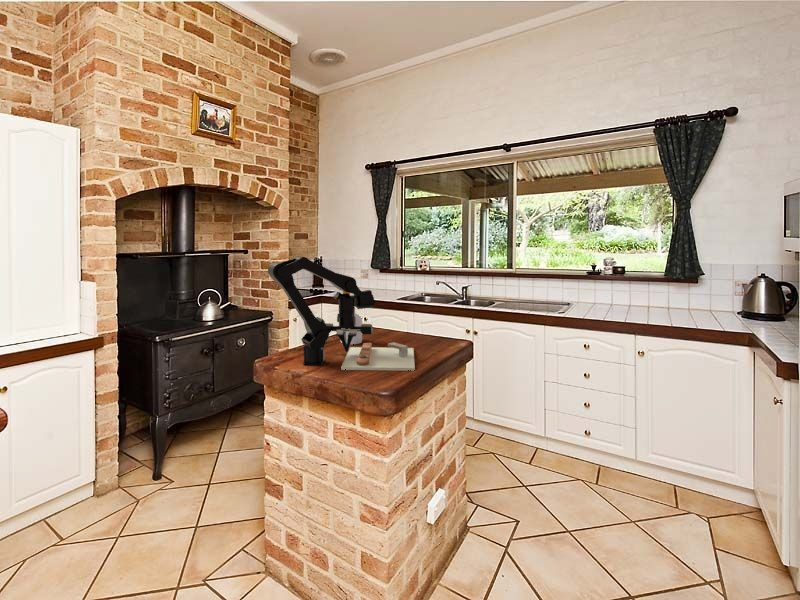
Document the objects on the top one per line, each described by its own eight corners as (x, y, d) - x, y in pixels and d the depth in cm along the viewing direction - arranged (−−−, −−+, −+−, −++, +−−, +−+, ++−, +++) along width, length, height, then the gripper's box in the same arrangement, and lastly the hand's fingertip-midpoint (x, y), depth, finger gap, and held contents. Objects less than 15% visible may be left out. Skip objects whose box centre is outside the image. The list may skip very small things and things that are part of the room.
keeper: (401, 360, 165) (401, 347, 164) (387, 355, 170) (387, 343, 170) (407, 358, 167) (407, 346, 166) (393, 354, 173) (393, 342, 172)
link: (368, 364, 155) (368, 357, 154) (355, 364, 155) (355, 357, 154) (373, 348, 176) (373, 341, 176) (361, 347, 176) (361, 341, 176)
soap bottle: (352, 346, 184) (351, 286, 181) (336, 342, 190) (335, 284, 186) (366, 341, 191) (366, 284, 188) (350, 338, 197) (350, 282, 193)
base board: (341, 369, 153) (341, 367, 153) (350, 349, 179) (350, 347, 179) (414, 370, 153) (414, 367, 153) (413, 350, 178) (413, 347, 178)
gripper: (373, 306, 173) (373, 346, 175) (325, 306, 173) (325, 345, 176) (371, 312, 162) (371, 354, 164) (319, 311, 162) (320, 353, 165)
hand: (347, 351), depth 167 cm, fingers closed
